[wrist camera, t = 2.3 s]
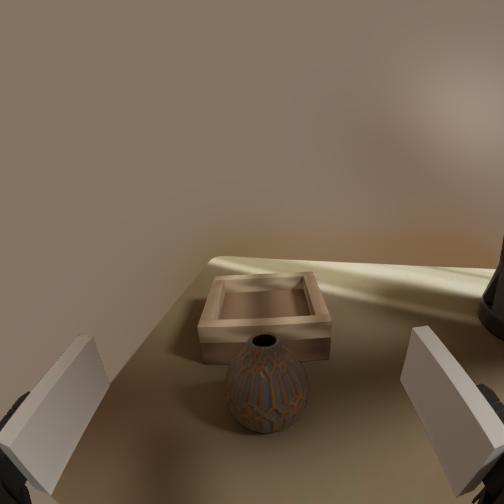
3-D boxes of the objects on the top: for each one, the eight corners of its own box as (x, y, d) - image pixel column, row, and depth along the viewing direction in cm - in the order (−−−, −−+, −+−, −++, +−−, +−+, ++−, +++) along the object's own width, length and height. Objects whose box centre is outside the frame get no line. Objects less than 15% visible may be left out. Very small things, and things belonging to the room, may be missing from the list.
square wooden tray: (311, 302, 46) (312, 271, 45) (329, 358, 33) (331, 321, 31) (218, 306, 47) (215, 276, 45) (203, 364, 33) (197, 327, 32)
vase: (215, 412, 26) (200, 336, 23) (272, 382, 30) (269, 308, 27) (261, 457, 21) (256, 382, 18) (322, 416, 25) (329, 338, 22)
